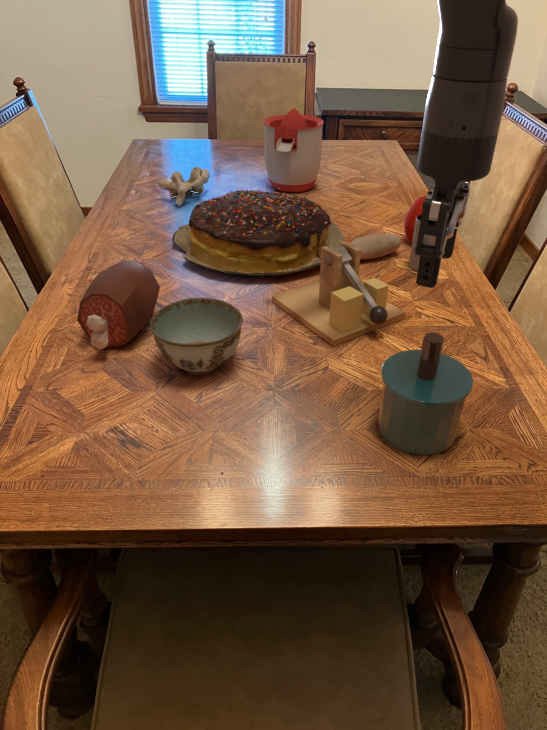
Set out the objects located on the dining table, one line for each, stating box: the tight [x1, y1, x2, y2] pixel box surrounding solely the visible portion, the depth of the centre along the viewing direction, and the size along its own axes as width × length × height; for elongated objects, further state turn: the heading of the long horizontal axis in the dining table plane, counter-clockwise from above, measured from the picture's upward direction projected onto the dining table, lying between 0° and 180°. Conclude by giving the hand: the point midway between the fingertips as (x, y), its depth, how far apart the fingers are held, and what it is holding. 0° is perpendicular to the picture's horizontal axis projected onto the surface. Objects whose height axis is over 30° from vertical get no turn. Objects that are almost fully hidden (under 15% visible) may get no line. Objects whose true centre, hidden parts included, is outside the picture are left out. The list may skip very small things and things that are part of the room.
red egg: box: [403, 195, 427, 244], centre depth 124 cm, size 8×8×11 cm
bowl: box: [149, 297, 244, 376], centre depth 87 cm, size 14×13×8 cm
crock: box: [377, 381, 467, 456], centre depth 74 cm, size 10×10×8 cm
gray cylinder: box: [408, 214, 436, 271], centre depth 114 cm, size 4×4×10 cm
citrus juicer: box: [262, 108, 325, 193], centre depth 151 cm, size 16×17×20 cm
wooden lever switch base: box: [271, 240, 406, 347], centre depth 99 cm, size 18×16×12 cm
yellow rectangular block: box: [362, 277, 389, 317], centre depth 97 cm, size 3×2×6 cm
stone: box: [350, 233, 402, 260], centre depth 119 cm, size 6×6×12 cm
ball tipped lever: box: [334, 246, 388, 324], centre depth 95 cm, size 15×3×3 cm, turn 34°
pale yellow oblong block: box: [329, 286, 364, 333], centre depth 94 cm, size 3×4×6 cm
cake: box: [171, 189, 346, 277], centre depth 123 cm, size 37×37×10 cm
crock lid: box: [380, 331, 474, 406], centre depth 70 cm, size 11×11×7 cm
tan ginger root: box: [157, 166, 211, 208], centre depth 148 cm, size 9×14×8 cm, turn 136°
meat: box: [76, 258, 161, 351], centre depth 94 cm, size 20×12×10 cm, turn 170°
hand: (434, 270), depth 68 cm, fingers open, 8 cm apart
